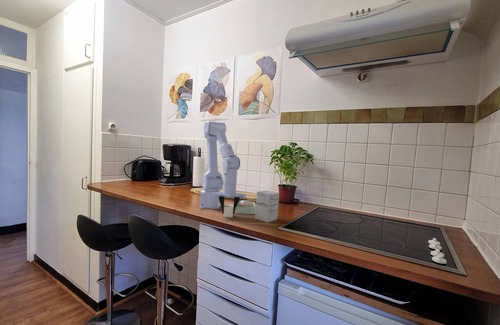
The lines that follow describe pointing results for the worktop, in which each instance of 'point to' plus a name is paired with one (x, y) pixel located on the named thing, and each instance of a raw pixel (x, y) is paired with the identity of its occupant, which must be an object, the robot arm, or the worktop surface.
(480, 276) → the worktop surface
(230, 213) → the cream carton
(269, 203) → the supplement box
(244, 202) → the steel tin
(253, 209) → the sage tote
